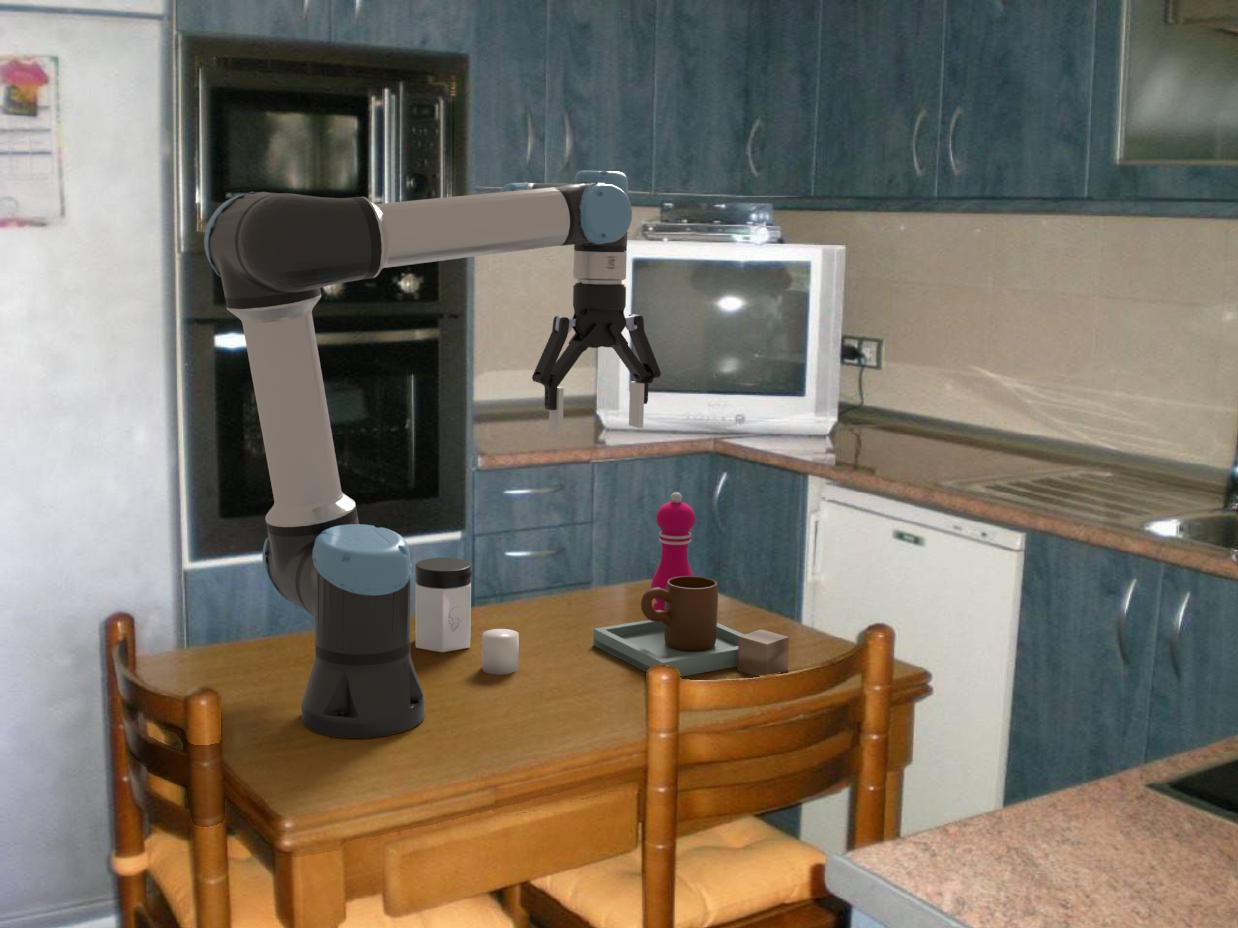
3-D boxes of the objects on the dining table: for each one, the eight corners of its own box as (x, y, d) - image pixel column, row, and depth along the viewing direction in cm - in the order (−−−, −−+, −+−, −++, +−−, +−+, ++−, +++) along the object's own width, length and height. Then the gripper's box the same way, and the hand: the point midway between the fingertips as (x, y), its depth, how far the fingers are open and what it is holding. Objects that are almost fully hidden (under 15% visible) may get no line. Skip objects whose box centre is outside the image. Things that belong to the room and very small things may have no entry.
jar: (428, 655, 205) (429, 574, 203) (403, 641, 211) (403, 561, 209) (484, 646, 210) (484, 566, 208) (457, 632, 216) (457, 554, 214)
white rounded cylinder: (492, 676, 197) (492, 641, 196) (476, 666, 201) (476, 631, 200) (524, 671, 199) (525, 636, 198) (507, 661, 203) (508, 626, 203)
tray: (662, 680, 197) (662, 662, 196) (593, 644, 212) (593, 628, 211) (765, 660, 206) (766, 643, 206) (693, 628, 221) (693, 612, 221)
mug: (652, 658, 203) (654, 594, 201) (628, 643, 209) (629, 581, 208) (725, 648, 208) (728, 585, 206) (699, 634, 215) (701, 573, 213)
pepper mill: (657, 607, 232) (660, 486, 228) (700, 612, 230) (705, 490, 226) (644, 619, 225) (647, 494, 222) (688, 624, 223) (692, 498, 219)
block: (765, 678, 199) (767, 644, 198) (737, 670, 202) (738, 636, 201) (787, 671, 202) (789, 636, 201) (759, 662, 206) (760, 629, 205)
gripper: (535, 284, 195) (533, 439, 198) (686, 282, 208) (682, 427, 212) (509, 281, 201) (508, 431, 205) (657, 279, 214) (653, 420, 218)
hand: (596, 429), depth 208 cm, fingers open, 13 cm apart
